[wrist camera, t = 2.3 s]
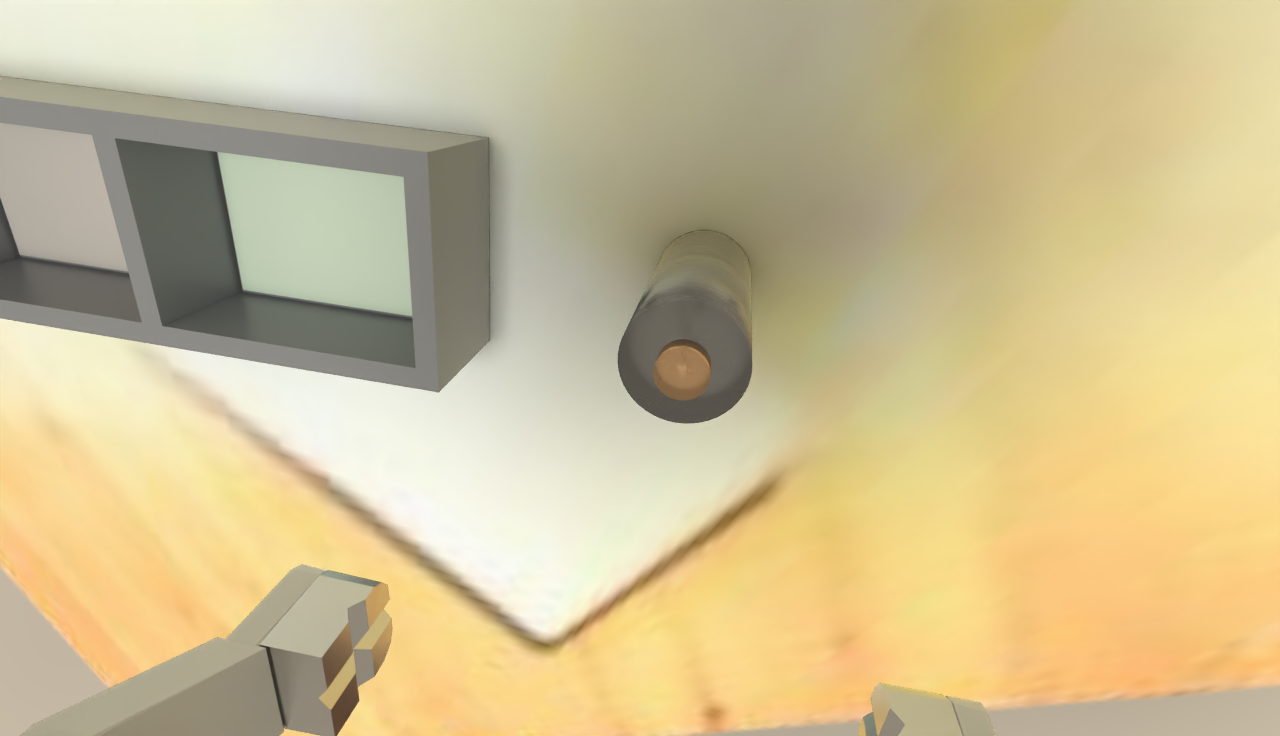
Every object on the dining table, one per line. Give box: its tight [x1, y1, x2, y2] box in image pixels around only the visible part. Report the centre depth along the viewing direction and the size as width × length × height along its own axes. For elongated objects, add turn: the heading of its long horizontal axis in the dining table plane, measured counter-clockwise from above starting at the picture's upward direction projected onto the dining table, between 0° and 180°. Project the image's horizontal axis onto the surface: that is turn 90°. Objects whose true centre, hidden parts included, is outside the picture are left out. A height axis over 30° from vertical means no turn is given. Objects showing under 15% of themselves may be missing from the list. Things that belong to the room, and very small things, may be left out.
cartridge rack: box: [0, 76, 490, 392], centre depth 29 cm, size 10×27×6 cm, turn 84°
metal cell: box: [618, 230, 752, 423], centre depth 25 cm, size 4×4×11 cm
